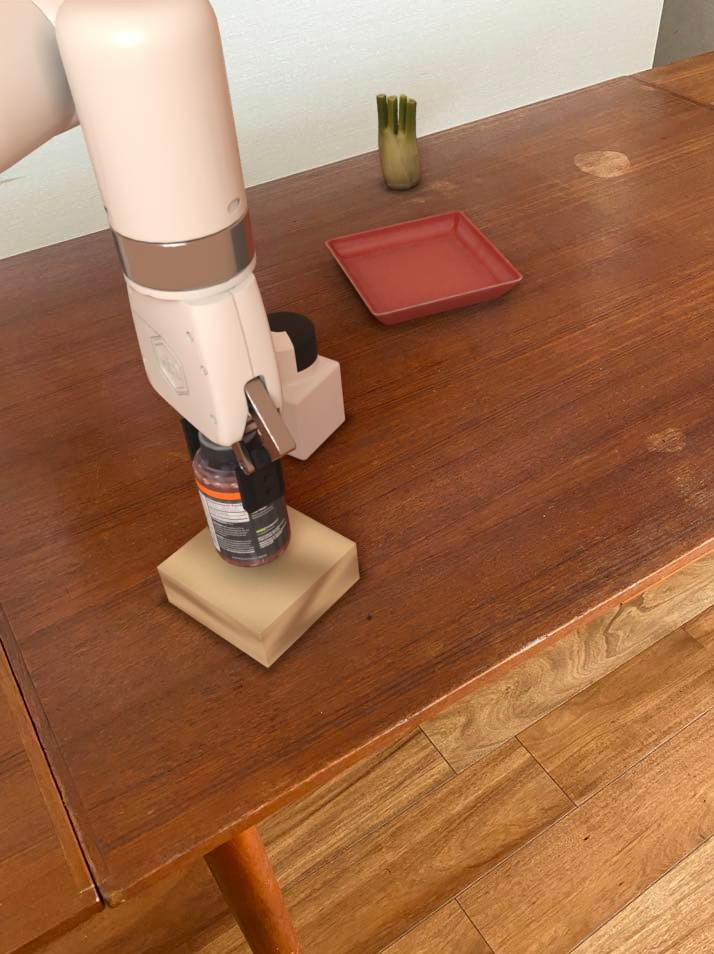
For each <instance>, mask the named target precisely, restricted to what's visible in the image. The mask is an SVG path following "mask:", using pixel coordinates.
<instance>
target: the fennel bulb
mask: <svg viewBox="0 0 714 954" xmlns="http://www.w3.org/2000/svg"><path fill="white" fill-rule="evenodd" d="M375 99H376V109H377V110H376V111H377V148H378V157H379V161H380V162H379V163H380V167H381V173H382V176H383V179H384V182H385V183H386V185H387V187H388V188H389V189H390V190H392V191H397V192H406V191H409V190H410V189H412V188H415V187H416V186H417V185H418V184H419V182H420V180H421V176H422V165H421V154H420V149H419V145H418V138H417V105H418V103H417V100H416V99H414V98H409V97H408V96H407V95H406V94H403V93H401V94H400V95H399V101H398V96H397V95H389V96H387V94H386V93H379V94H376V95H375Z"/></svg>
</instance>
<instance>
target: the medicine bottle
mask: <svg viewBox="0 0 714 954" xmlns="http://www.w3.org/2000/svg"><path fill="white" fill-rule="evenodd" d="M266 315H267V319H268V323H269V327H270V330H271V335H272V339H273V343H274V348H275V352H276V357H277V362H278V366H279V372H280V378H281V384H282V391H283V403H284V409H283V415H282V417H281V418H282V420H283V421H284V423H285V425H286V427H287V429H288V430H289V432H290V434H291V436H292V438H293V439H294V441H295V443H296V449H295V450H294V451H292V452H290V453H288V454H287V456H291V457H293V458H296V459H298V460H301V461H306V460H308V459H309V457H311V455H312V454H313V453H314V452H315V451H316V450H317V449H319V448H320V446H322V444H323V443H324V442H325V441H326V440H328V438H329V437H331V435H333V433H334V432H335V431H336V430H337V429H338V428H339V427H340V426H341V425H342V424H343V423H344V422H345V421H346V413H345V404H344V395H343V386H342V385H343V384H342V376H341V375H342V374H341V364H340V363H339V361H338V360H334V359H331V358H328V357H325V356H323V355H319V349H318V348H319V347H318V341H317V332H316V326H315V324H314V322H313V321H312V320H311V319H309V317H307V316H306V315H304V314H302V313H299V312H295V311H287V310H285V311H284V310H283V311H275V312H270V313H266ZM248 416H250V417H251V415H250V413H249V411H248ZM258 433H259V435H261V433H260V431H259V429H258ZM261 436H262V435H261Z"/></svg>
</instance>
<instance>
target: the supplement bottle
mask: <svg viewBox="0 0 714 954" xmlns="http://www.w3.org/2000/svg"><path fill="white" fill-rule="evenodd" d="M249 417H250V416H247V418H249ZM198 437H199V442H200V448H199V449H198V451H197V452H196V454H195V456H194V459H193V461H192V471H193V476H194V479H195V483H196V486H197V491H198V494H199V497H200V502H201V504H202V505H201V506H202V509H203V511H204V515H205V519H206V521H207V522H206V523H207V526H208V528H209V529H210V533H211V536H212V541H213V543H214V546H215V549H216V551H217V553H218V554H219V556H220V557H221V558H222V559H223V560H225V561H226V562H228V563H229V564H232V565H235V566H238V567H246V568H248V567H251V568H252V567H257V566H261V565H265V564H268V563H270V562H272V561H273V560H275V559H277V558H278V557H279V556H280V555H282V554H283V552H284V551H285V550H286V548H287V547H288V545H289V542H290V538H291V529H290V522H289V517H288V512H287V506H286V505H287V501H286V496H285V494H284V495H283V496H282V497H280V498H279V499H277V500H275V501H273V502H272V503H270V504H268V505H266V506H265V507H263V508H261V509H259V510H258V511H256V512H254V513H252V514H248V513H247V512H246V511H245V510H244V509H243V506H242V501H241V497H240V492H239V488H238V483H237V479H236V475H235V470H234V469H235V468H236V467H237V466H239V463H238V461H237V458H236V456H235V453H234V451H233V448H232V446H229V447H225V446H221V445H218V444H216V443H214V442H213V441H211V440H210V439H208V438H207V437H206V436H205V435H204V434H202V433H201V432H200V431H199V433H198ZM243 438H244V440H245V443H246V445H247V448H248V450H249V453H250V452H251V451H253V450H255V449H256V448H258V447H260V446H262V445H263V444H264V440H263V437H262V436H261V435H259V433H258V430H256V431H254V432H252V433H250V434H248V435H246V436H244V437H243ZM208 528H207V529H208Z"/></svg>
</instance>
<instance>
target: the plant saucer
mask: <svg viewBox="0 0 714 954" xmlns="http://www.w3.org/2000/svg"><path fill="white" fill-rule="evenodd" d="M324 244H325V246H326V248H327V249H328V250H329V252H330V253H331V255H332V256H333V258H334V259H335V260H336V262H337V263H338V265H339V267H340V268H341V269H342V271H343V272H344V274H345V276H346V277H347V278H348V280H349V282H350V283H351V285H352V286H353V288H354V289H355V291H356V292H357V293H358V295H359V297H360V298H361V299H362V301H363V302H364V304H365V306H366V307H367V308H368V310H369V311H370V313H371V314H372V316H373V317H374V318H375V319H376V320H377V321H379V322H381V323H382V324H383V325H385V326H392V325H397V324H400V323H405V322H409V321H412V320H416V319H420V318H424V317H429V316H432V315H437V314H440V313H445V312H448V311H453V310H457V309H460V308H464V307H468V306H473V305H477V304H480V303H485V302H488V301H493V300H497V299H499V298H501V297H502V296H504V295H505V294H507V293H508V292H510V291H511V290H513V288H515V287H516V286H517V285H518V284H519V283H520V282H521V281H523V274H522V273H520V272H519V271H518V269H517V268H516V267H515V266H514V265H513V264H512V262H510V261H509V259H508V258H506V256H505V255H504V254H503V253H502V252H501V251H500V250H499V249H498V247H496V246H495V245H494V244H493V242H492V241H491V240H490V239H489V238H488V236H486V235H485V234H484V233H483V232H482V231H481V229H479V228H478V227H477V226H476V225H475V223H474V222H473V221H472V220H471V219H469V217H468V215H466V214H465V213H464V212H463V211H461V210H460V211H459V210H452V211H448V212H444V213H439V214H435V215H430V216H426V217H422V218H421V217H420V218H417V219H413V220H408V221H404V222H398V223H394V224H389V225H386V226H381V227H377V228H372V229H368V230H364V231H359V232H356V233H349V234H346V235H345V234H344V235H340V236H338V237H333V238H329V239H327V240H326V241H325V242H324Z"/></svg>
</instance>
